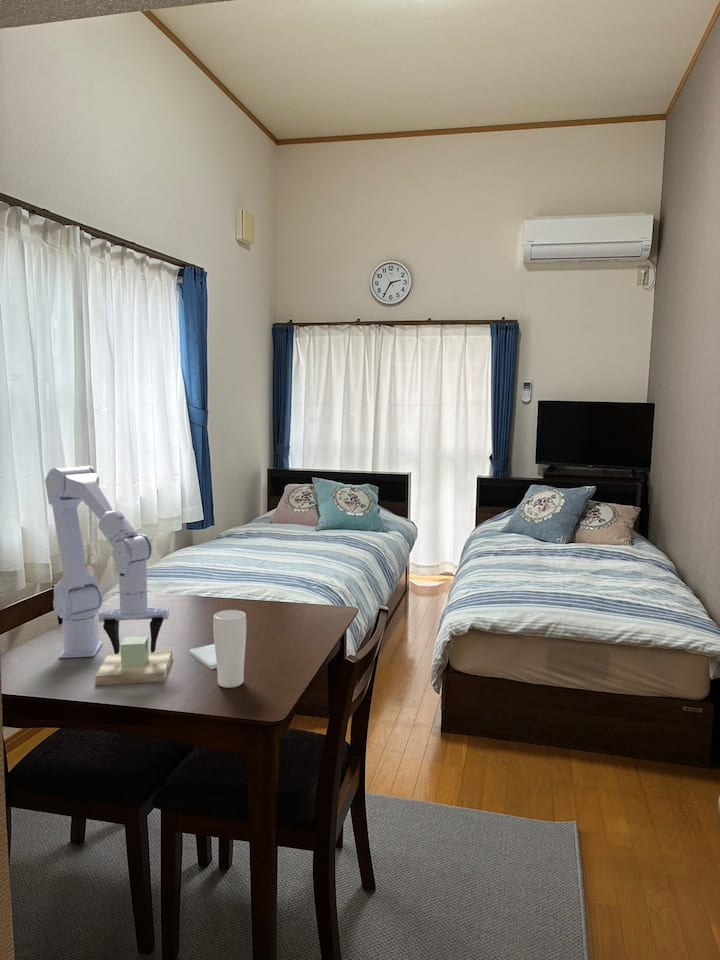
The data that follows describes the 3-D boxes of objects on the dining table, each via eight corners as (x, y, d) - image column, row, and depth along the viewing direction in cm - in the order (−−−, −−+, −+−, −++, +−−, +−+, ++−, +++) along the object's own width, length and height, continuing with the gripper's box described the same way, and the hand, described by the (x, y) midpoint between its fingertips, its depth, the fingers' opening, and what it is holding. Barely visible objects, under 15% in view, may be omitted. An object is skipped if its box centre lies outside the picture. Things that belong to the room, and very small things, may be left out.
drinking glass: (233, 692, 143) (231, 621, 141) (207, 686, 146) (206, 616, 144) (253, 681, 148) (252, 612, 147) (228, 675, 152) (227, 608, 150)
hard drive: (188, 649, 165) (210, 664, 155) (220, 642, 170) (244, 657, 160) (188, 656, 165) (211, 672, 155) (220, 649, 170) (244, 664, 160)
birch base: (109, 661, 160) (109, 652, 160) (172, 658, 162) (172, 649, 162) (95, 685, 146) (95, 676, 146) (164, 681, 148) (164, 672, 148)
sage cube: (125, 659, 156) (124, 637, 155) (148, 657, 156) (148, 636, 156) (121, 667, 151) (120, 644, 150) (145, 666, 151) (144, 643, 151)
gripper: (94, 597, 147) (96, 659, 149) (165, 595, 149) (166, 656, 151) (101, 588, 154) (103, 648, 155) (169, 586, 156) (170, 645, 158)
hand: (135, 651), depth 153 cm, fingers open, 7 cm apart
